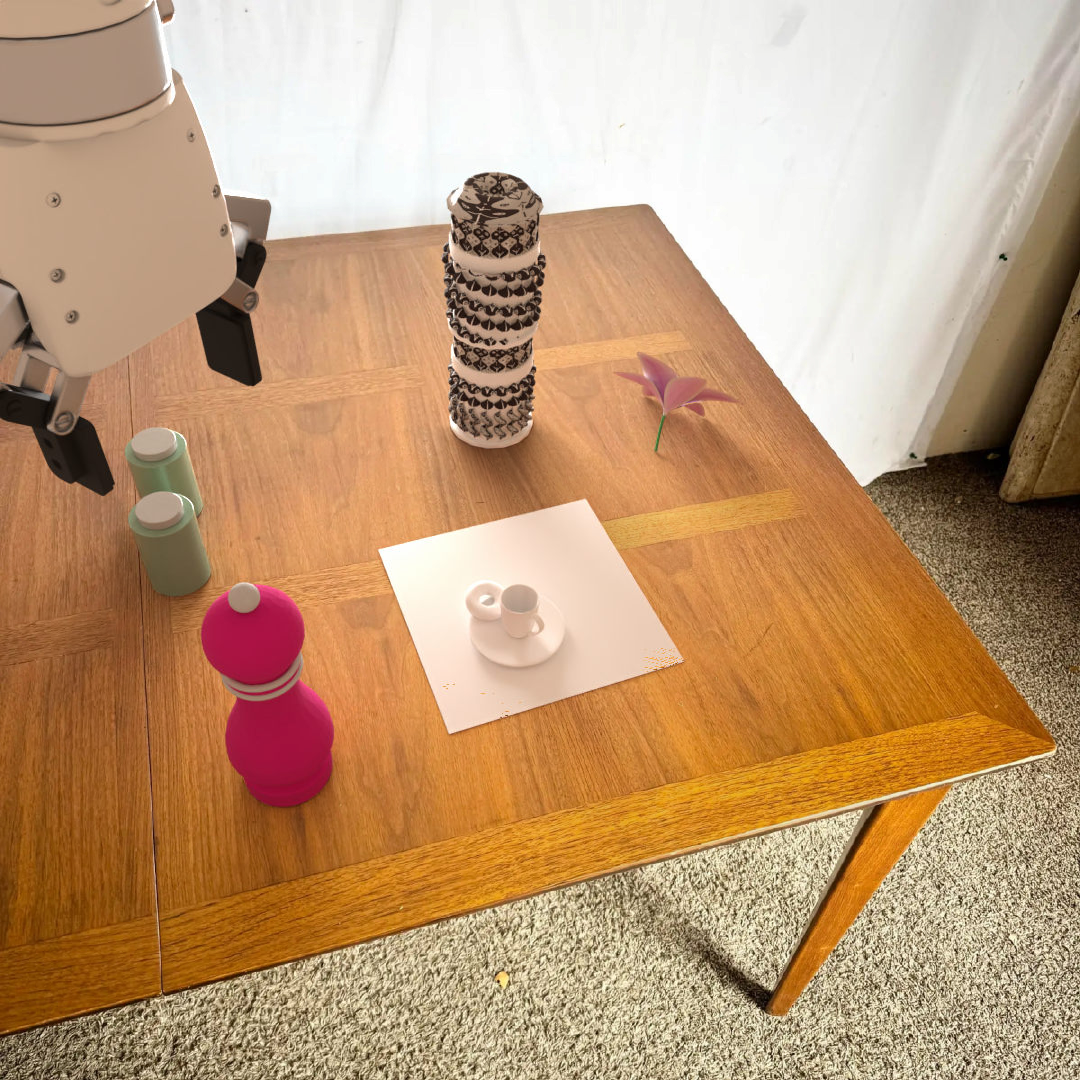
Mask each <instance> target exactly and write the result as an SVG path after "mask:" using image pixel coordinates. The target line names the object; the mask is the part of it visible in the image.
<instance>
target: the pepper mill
mask: <svg viewBox="0 0 1080 1080" xmlns="http://www.w3.org/2000/svg"><path fill="white" fill-rule="evenodd" d="M201 624H202V625H201V628H200V641H201V646H202V650H203V652H204V656H205V658H206V660H207V661H208V663H209V664H210V665H211V666H212V668H213V669H214V670H216V671H217V672H218V673H219V674H220V678H221V681H222V684H223V685H224V687H225V689H226V690H227V691H228V692H229V693H230V694H232V695H233V696H234V697H235V698H236V699H235V702H234V704H233V706H232V708H231V710H230V712H229V715H228V718H227V722H226V728H225V732H224V738H225V739H224V740H225V749H226V753H227V756H228V760H229V762H230V764H231V765H232V768H233V769H234V770H235V771H236V772H237V773H238V775H240V776H241V777H242V778H243V781H244V784H245V787H246V789H247V790H248V792H249V794H250V795H251V796H252V797H253V798H255V800H257V801H258V802H260V803H263V804H264V805H267V806H270V807H275V808H289V807H293V806H297V805H300V804H304V803H306V802H308V801H309V800H310V799H312V798H314V797H315V796H317V795H318V794H319V793H320V792H321V791H322V790H323V788H324V787H325V786H326V785H327V784H328V781H329V779H330V777H331V775H332V771H333V766H334V765H333V764H334V763H333V762H334V760H333V753H332V748H333V745H334V740H335V727H334V721H333V720H332V717H331V716H332V715H331V714H330V711H329V707H327V705H326V703H325V702H324V701H323V700H322V698H321V697H320V695H318V693H317V692H316V691H315V690H313V689H312V688H311V687H310V686H308V685H307V684H306V683H304V682H303V681H302V680H301V679H300V677H301V675H302V672H303V670H304V669H303V668H304V657H303V654H302V648H303V646H304V642H305V638H306V632H305V631H306V628H305V621H304V618H303V615H302V612H301V611H300V609H299V607H298V605H297V604H296V602H295V601H294V600H293V598H292V597H290V596H289V595H288V594H287V593H285V592H284V591H282V590H280V589H279V588H276V587H274V586H270V585H266V584H257V583H256V584H253V583H251V582H245V581H244V582H242V581H241V582H238V583H236V584H234V585H233V586H232V587H231V588H230V589H229V590H227V591H225V592H224V593H222V594H221V595H220V596H218V597H217V598H216V599H215V600H214V601H213V602H212V604H211V605H210V606H209V607H208V608H207V610H206V613H205V615H204V616H203V619H202V622H201Z"/></svg>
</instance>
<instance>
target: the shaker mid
mask: <svg viewBox="0 0 1080 1080" xmlns="http://www.w3.org/2000/svg"><path fill="white" fill-rule="evenodd" d="M127 523H128V526H129V530H130V532H131V534H132V538H133V540H134V543H135V545H136V548H137V551H138V554H139V557H140V559H141V561H142V564H143V567H144V570H145V573H146V575H147V578H148V582H149V584H150V586H151V588H152V589H153V590H154V591H155V592H157V593H158V594H161V595H163V596H165V597H166V596H167V597H183V596H184V597H185V596H188V595H190V594H192V593H194V592H196V591H198V590H200V589H201V588H202V587H204V586H205V585H206V583H207V582H208V581H209V579H210V577H211V573H212V565H211V562H210V558H209V555H208V552H207V548H206V545H205V541H204V538H203V535H202V534H203V533H202V530H201V528H200V525H199V521H198V516H197V517H196V514H195V510H194V507H193V504H192V503H191V501H190V500H189V499H187V498H186V497H184V496H182V495H180V494H176V493H171V492H155V493H152V494H149V495H147V496H145V497H144V498H142V499H141V500H140V499H139V501H138V502H136V504H134V505H133V506H132V508H131V509H130V511H129V513H128V516H127Z"/></svg>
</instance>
